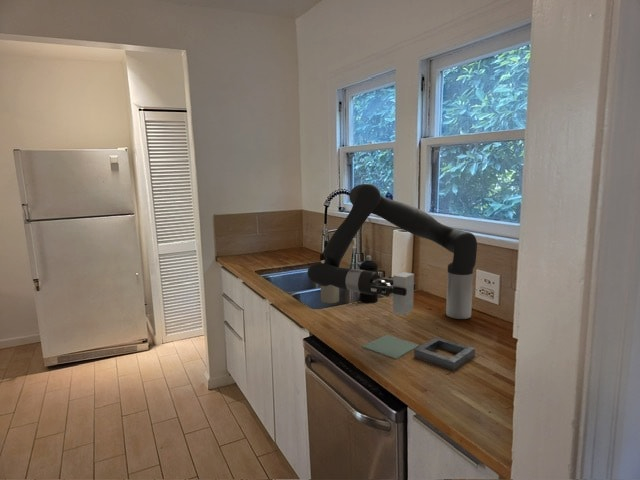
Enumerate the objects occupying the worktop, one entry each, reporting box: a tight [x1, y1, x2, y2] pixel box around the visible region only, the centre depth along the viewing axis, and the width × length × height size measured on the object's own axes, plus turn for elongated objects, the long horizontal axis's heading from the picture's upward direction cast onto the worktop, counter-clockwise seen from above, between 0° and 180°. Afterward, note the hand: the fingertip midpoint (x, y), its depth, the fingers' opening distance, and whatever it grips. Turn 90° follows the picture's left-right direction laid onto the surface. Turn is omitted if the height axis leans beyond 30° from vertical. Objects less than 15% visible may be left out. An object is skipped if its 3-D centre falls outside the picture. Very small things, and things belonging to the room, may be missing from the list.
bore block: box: [413, 336, 476, 372], centre depth 125 cm, size 13×13×2 cm
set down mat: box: [362, 334, 421, 360], centre depth 133 cm, size 13×13×1 cm
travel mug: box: [320, 259, 340, 305], centre depth 180 cm, size 8×8×18 cm
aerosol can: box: [358, 255, 379, 304], centre depth 180 cm, size 8×8×20 cm
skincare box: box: [392, 271, 415, 316], centre depth 128 cm, size 6×4×12 cm
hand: (410, 289), depth 126 cm, fingers closed on skincare box, 6 cm apart
